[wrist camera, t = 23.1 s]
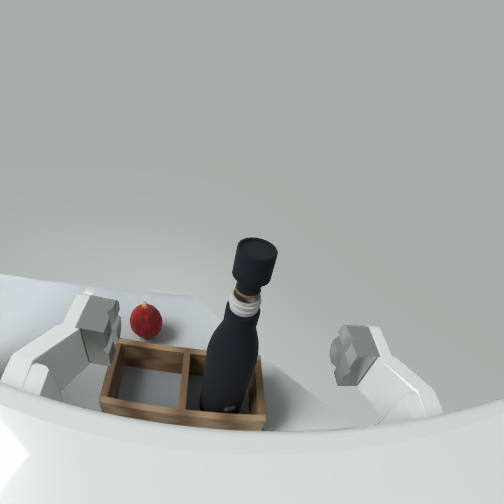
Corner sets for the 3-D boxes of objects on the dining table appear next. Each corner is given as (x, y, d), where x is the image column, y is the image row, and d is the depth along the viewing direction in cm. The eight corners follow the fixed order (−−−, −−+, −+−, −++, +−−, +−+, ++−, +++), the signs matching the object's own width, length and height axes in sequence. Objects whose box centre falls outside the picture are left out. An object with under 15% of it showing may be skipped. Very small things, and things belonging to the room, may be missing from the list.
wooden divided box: (106, 419, 39) (98, 401, 36) (120, 359, 49) (116, 337, 46) (257, 437, 43) (266, 421, 40) (253, 375, 53) (260, 355, 50)
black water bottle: (215, 383, 50) (249, 223, 34) (247, 404, 48) (302, 250, 31) (190, 406, 45) (209, 245, 29) (223, 430, 43) (268, 278, 27)
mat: (99, 424, 39) (98, 423, 38) (116, 355, 50) (116, 354, 50) (263, 443, 42) (264, 443, 42) (257, 372, 54) (258, 371, 54)
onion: (167, 331, 58) (168, 300, 53) (151, 351, 53) (150, 321, 49) (142, 319, 59) (140, 288, 55) (125, 337, 54) (121, 306, 50)
